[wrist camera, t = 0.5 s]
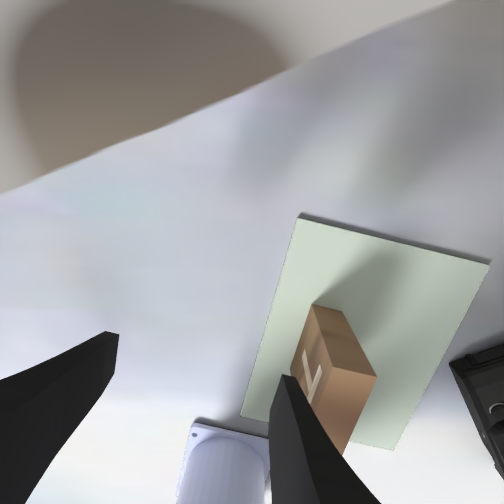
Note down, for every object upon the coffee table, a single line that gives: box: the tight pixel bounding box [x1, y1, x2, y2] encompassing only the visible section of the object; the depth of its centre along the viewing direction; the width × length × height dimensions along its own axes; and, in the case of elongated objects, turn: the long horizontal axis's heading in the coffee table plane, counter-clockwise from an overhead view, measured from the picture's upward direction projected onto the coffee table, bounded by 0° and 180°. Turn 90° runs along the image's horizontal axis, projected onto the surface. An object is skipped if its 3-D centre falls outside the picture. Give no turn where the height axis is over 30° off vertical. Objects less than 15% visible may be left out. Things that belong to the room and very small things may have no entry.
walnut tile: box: [290, 304, 377, 455], centre depth 19 cm, size 6×2×7 cm, turn 166°
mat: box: [240, 217, 490, 451], centre depth 22 cm, size 18×14×1 cm
